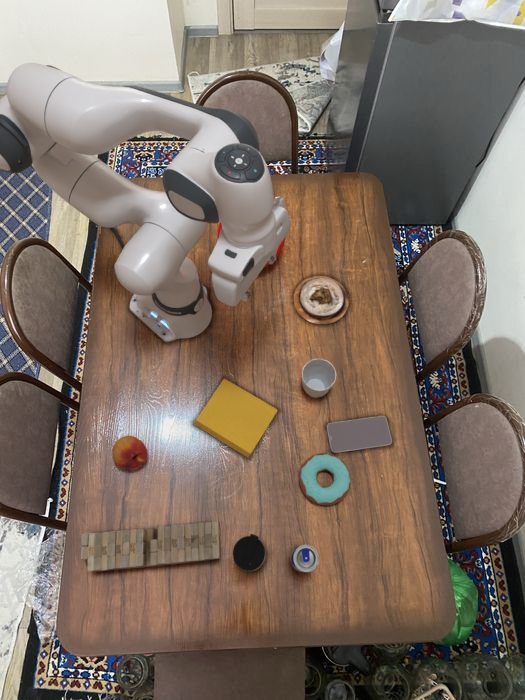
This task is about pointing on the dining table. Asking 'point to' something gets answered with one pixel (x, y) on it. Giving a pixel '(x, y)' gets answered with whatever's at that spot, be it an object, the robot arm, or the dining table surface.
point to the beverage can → (304, 558)
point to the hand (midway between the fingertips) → (257, 278)
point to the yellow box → (235, 417)
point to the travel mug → (249, 553)
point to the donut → (311, 485)
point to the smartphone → (358, 434)
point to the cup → (318, 377)
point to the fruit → (129, 452)
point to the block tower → (151, 546)
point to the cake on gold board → (320, 300)
